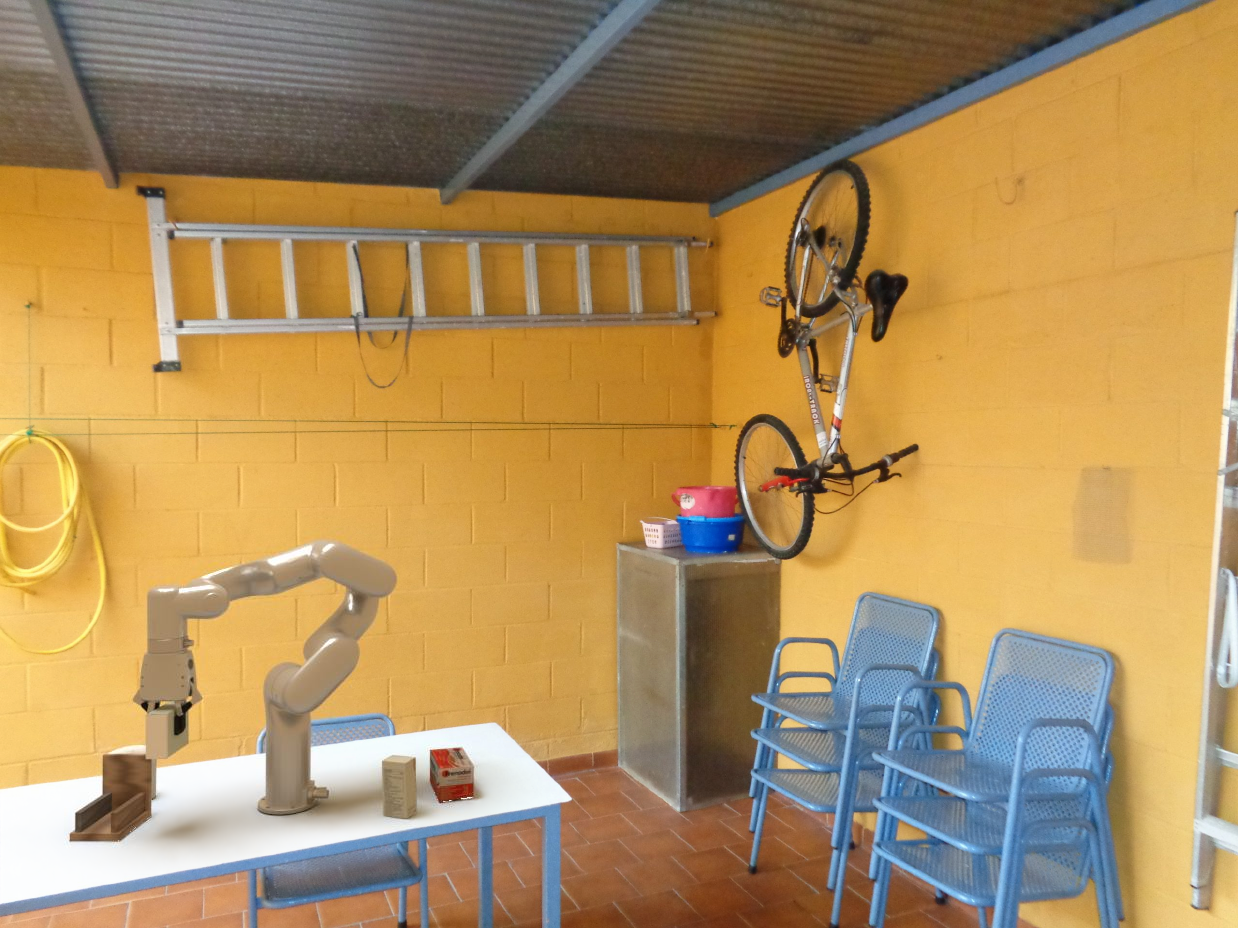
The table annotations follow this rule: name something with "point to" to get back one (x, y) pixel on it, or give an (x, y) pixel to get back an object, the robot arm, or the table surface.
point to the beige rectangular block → (164, 732)
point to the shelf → (117, 800)
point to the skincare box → (399, 786)
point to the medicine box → (451, 774)
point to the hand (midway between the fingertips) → (167, 732)
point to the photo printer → (139, 750)
